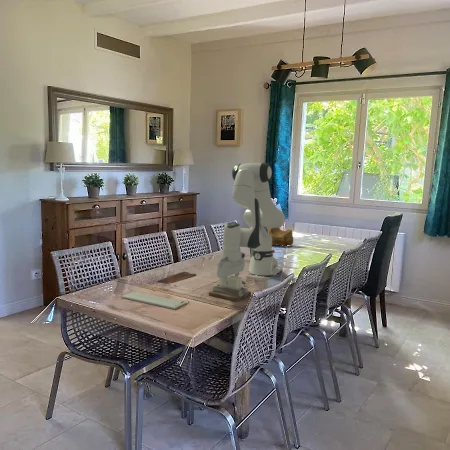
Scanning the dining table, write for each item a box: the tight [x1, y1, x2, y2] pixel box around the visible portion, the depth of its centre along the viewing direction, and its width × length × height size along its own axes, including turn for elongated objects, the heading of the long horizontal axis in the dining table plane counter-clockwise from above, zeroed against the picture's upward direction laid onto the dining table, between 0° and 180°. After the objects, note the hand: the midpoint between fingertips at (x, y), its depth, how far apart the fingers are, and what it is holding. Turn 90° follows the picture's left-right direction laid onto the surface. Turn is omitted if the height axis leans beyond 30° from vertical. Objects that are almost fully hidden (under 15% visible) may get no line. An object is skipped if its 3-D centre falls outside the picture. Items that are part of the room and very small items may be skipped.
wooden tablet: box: [156, 271, 197, 285], centre depth 250 cm, size 26×2×10 cm
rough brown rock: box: [267, 227, 294, 246], centre depth 357 cm, size 23×17×15 cm
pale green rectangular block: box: [218, 275, 243, 291], centre depth 220 cm, size 3×11×8 cm, turn 57°
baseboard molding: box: [121, 291, 190, 310], centre depth 209 cm, size 31×3×12 cm
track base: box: [208, 282, 252, 302], centre depth 221 cm, size 14×16×4 cm
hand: (230, 283), depth 220 cm, fingers open, 8 cm apart
